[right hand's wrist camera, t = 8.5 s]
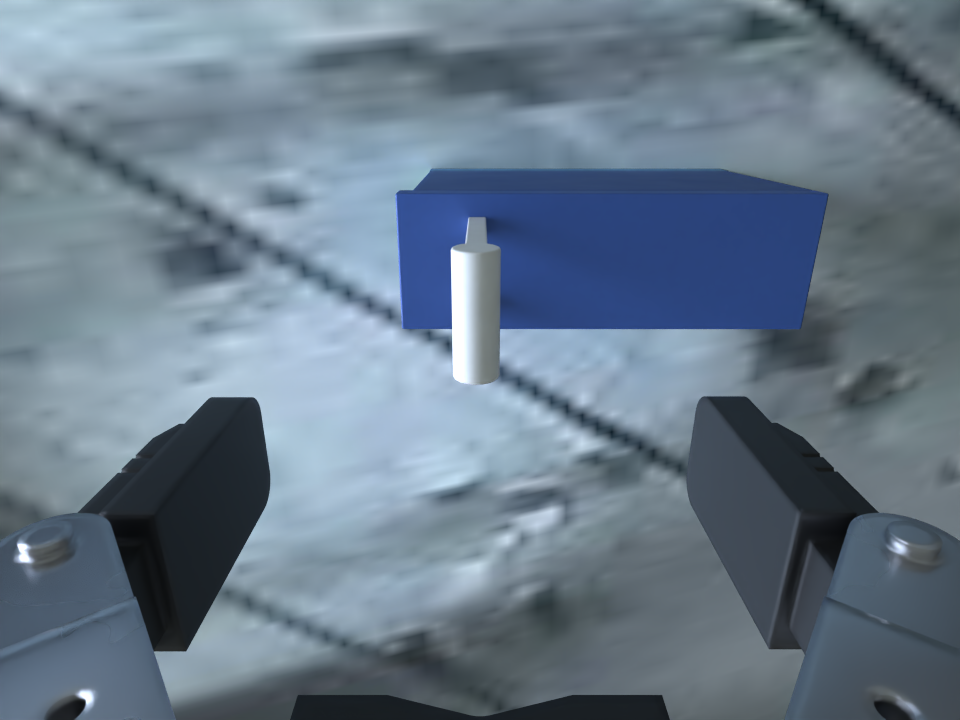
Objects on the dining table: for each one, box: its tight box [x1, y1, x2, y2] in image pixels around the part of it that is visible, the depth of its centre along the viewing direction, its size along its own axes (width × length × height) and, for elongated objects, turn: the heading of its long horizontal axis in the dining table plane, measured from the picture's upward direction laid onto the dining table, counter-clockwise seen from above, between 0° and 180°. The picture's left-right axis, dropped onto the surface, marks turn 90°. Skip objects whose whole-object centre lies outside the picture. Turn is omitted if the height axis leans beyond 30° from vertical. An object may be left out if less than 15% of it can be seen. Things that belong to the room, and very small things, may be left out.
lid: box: [396, 190, 828, 385], centre depth 22 cm, size 17×6×9 cm, turn 90°
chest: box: [414, 169, 812, 191], centre depth 31 cm, size 16×6×11 cm, turn 90°
